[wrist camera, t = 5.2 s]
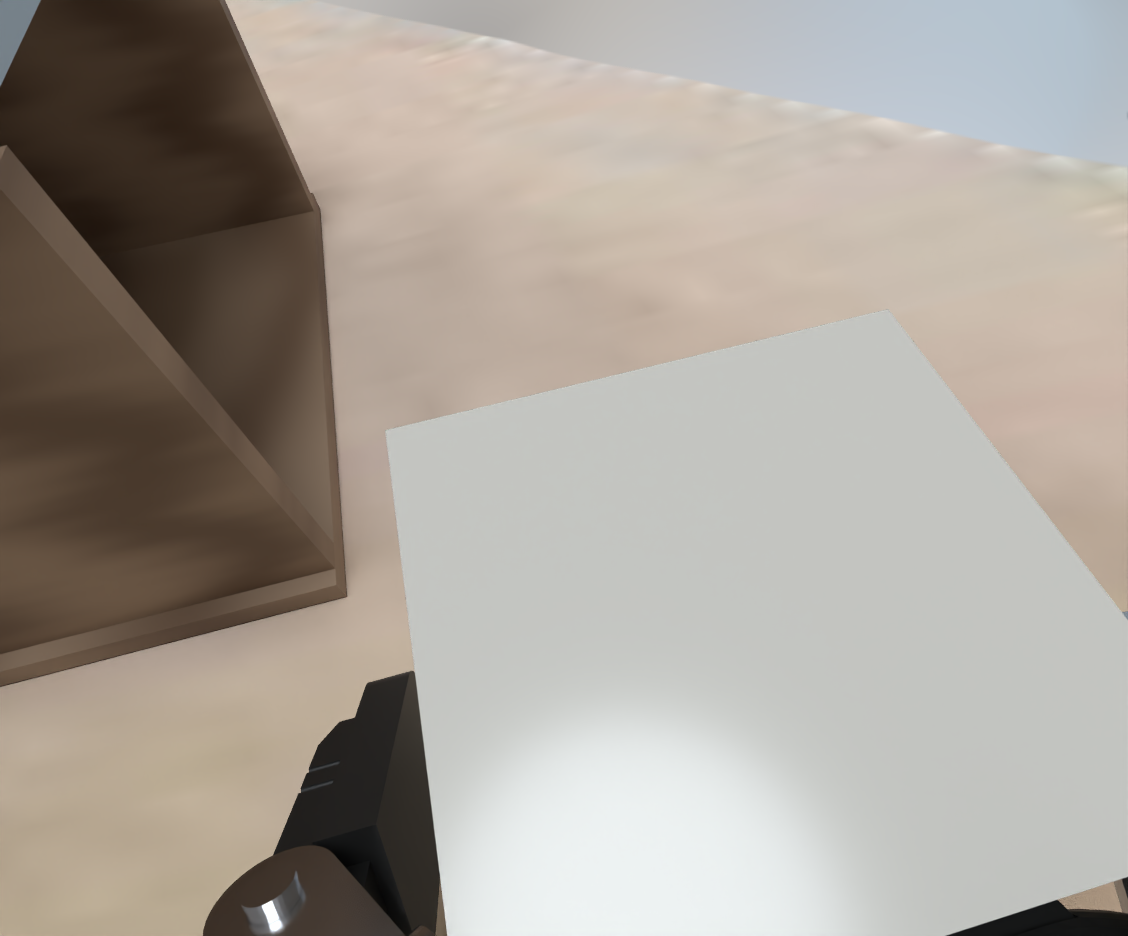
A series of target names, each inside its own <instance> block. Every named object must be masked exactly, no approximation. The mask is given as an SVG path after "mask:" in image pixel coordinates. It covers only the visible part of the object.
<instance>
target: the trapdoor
mask: <svg viewBox="0 0 1128 936" xmlns="http://www.w3.org/2000/svg"><path fill="white" fill-rule="evenodd" d="M40 1H41V0H0V86H1V84H2V82H3V80H4V77H5V75H6V73H7V71H8V69H9V67H10V65H11V63H12V60H13V58H14V56H15V54H16V52H17V50H18V48H19V46H20V43H21V41H22V39H23V37H24V35H25V33H26V31H27V29H28V26H29V24H30V22H31V20H32V18H33V16H34V14H35V11H36V9H37V7H38V5H39V3H40Z"/></svg>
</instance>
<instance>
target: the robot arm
mask: <svg viewBox="0 0 1128 936" xmlns="http://www.w3.org/2000/svg"><path fill="white" fill-rule="evenodd" d="M1122 613H1123V615H1124V616H1125V617H1126V619H1127V620H1128V612H1122ZM439 882H440V872H439V864H438V856H437V847H436V839H435V831H434V823H433V815H432V807H431V799H430V790H429V782H428V774H427V766H426V758H425V750H424V742H423V734H422V725H421V717H420V709H419V701H418V693H417V685H416V677H415V672H414V671H410V672H406V673H402V674H398V675H395V676H391V677H387V678H384V679H380V680H376V681H373V682H369V683H367V685H366V687H365V690H364V693H363V696H362V699H361V701H360V704H359V707H358V710H357V713H356V716H355V718H352V719H349V720H345V721H341V722H339V723H338V724H337V725H336V726H335V727H334V729H333V730H332V731H331V732H330V733H329V734H328V735H327V736H326V737H325V738H324V740H323V741H322V742H321V743H320V744H319V745H318V747H317V750H316V752H315V755H314V757H313V759H312V762H311V764H310V767H309V773H307V774H306V776H305V779H304V781H303V784H302V786H301V793H299V794H298V796H297V798H296V801H295V803H294V806H293V808H292V811H291V813H290V815H289V818H288V820H287V823H286V825H285V828H284V830H283V832H282V835H281V837H280V840H279V842H278V845H277V847H276V849H275V852H274V854H273V856H271V857H269V858H267V859H266V860H264V861H262V862H260V863H259V864H257V865H256V866H254V867H253V868H251V869H250V870H249V871H247V872H246V873H245V874H243V875H242V876H241V877H240V878H239V879H237V880H236V881H235V882H234V883H233V884H232V885H231V886H230V887H229V888H228V889H227V890H226V891H225V892H224V893H223V895H222V896H221V897H220V898H219V900H218V901H217V902H216V904H215V905H214V907H213V908H212V910H211V912H210V914H209V916H208V918H207V920H206V923H205V926H204V930H203V936H436V935H435V932H436V919H437V907H438V895H439ZM1113 882H1114V885H1115V889H1116V892H1117V895H1118V899H1119V902H1120V906H1121V909H1122V912H1123V913H1121V912H1114V911H1106V910H1088V909H1066V908H1065V907H1064V906H1063V905H1062V904H1061V903H1060V902H1059V901H1058V900H1055V901H1051V902H1048V903H1045V904H1042V905H1039V906H1036V907H1033V908H1030V909H1027V910H1024V911H1021V912H1017V913H1014V914H1011V915H1008V916H1005V917H1002V918H999V919H996V920H993V921H990V922H986V923H983V924H980V925H977V926H974V927H971V928H968V929H965V930H962V931H959V932H956V933H952V934H949V935H946V936H1128V877H1126V878H1123V879H1120V880H1116V881H1113Z"/></svg>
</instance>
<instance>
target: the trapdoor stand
mask: <svg viewBox="0 0 1128 936" xmlns="http://www.w3.org/2000/svg"><path fill="white" fill-rule="evenodd" d="M346 596H347V594H346V580H345V565H344V550H343V536H342V521H341V507H340V492H339V478H338V463H337V449H336V434H335V419H334V405H333V390H332V376H331V361H330V347H329V332H328V317H327V303H326V288H325V274H324V259H323V245H322V230H321V216H320V208H319V206H318V204H317V201H316V199H315V197H314V195H313V193H310V191H309V189H308V187H307V185H306V182H305V180H304V178H303V176H302V173H301V171H300V169H299V167H298V164H297V162H296V160H295V158H294V155H293V153H292V151H291V148H290V146H289V144H288V142H287V139H286V137H285V135H284V133H283V130H282V128H281V126H280V124H279V121H278V119H277V117H276V115H275V112H274V110H273V108H272V106H271V103H270V101H269V99H268V96H267V94H266V92H265V90H264V87H263V85H262V83H261V81H260V78H259V76H258V74H257V72H256V69H255V67H254V65H253V63H252V60H251V58H250V56H249V54H248V51H247V49H246V47H245V44H244V42H243V40H242V38H241V35H240V33H239V31H238V29H237V26H236V24H235V22H234V20H233V17H232V15H231V13H230V11H229V8H228V6H227V4H226V2H225V0H41V1H40V3H39V5H38V7H37V9H36V11H35V14H34V16H33V18H32V20H31V22H30V24H29V26H28V29H27V31H26V33H25V35H24V37H23V39H22V41H21V43H20V46H19V48H18V50H17V52H16V54H15V56H14V58H13V60H12V63H11V65H10V67H9V69H8V71H7V73H6V75H5V77H4V80H3V82H2V84H1V86H0V686H3V685H7V684H11V683H15V682H19V681H23V680H26V679H30V678H34V677H38V676H42V675H46V674H50V673H53V672H57V671H61V670H65V669H69V668H73V667H77V666H80V665H84V664H88V663H92V662H96V661H100V660H104V659H107V658H111V657H115V656H119V655H123V654H127V653H131V652H134V651H138V650H142V649H146V648H150V647H154V646H157V645H161V644H165V643H169V642H173V641H177V640H181V639H184V638H188V637H192V636H196V635H200V634H204V633H208V632H211V631H215V630H219V629H223V628H227V627H231V626H235V625H238V624H242V623H246V622H250V621H254V620H258V619H261V618H265V617H269V616H273V615H277V614H281V613H285V612H288V611H292V610H296V609H300V608H304V607H308V606H312V605H315V604H319V603H323V602H327V601H331V600H335V599H339V598H342V597H346Z"/></svg>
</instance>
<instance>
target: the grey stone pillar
mask: <svg viewBox="0 0 1128 936" xmlns="http://www.w3.org/2000/svg"><path fill="white" fill-rule="evenodd" d="M385 433H386V441H387V449H388V457H389V465H390V473H391V481H392V490H393V498H394V506H395V514H396V522H397V530H398V538H399V547H400V555H401V563H402V571H403V579H404V587H405V595H406V603H407V612H408V620H409V628H410V636H411V644H412V652H413V660H414V669H415V677H416V685H417V693H418V701H419V709H420V717H421V725H422V734H423V742H424V750H425V758H426V766H427V774H428V782H429V790H430V799H431V807H432V815H433V823H434V831H435V839H436V847H437V856H438V864H439V872H440V880H441V888H442V896H443V904H444V912H445V921H446V929H447V936H946V935H949V934H952V933H956V932H959V931H962V930H965V929H968V928H971V927H974V926H977V925H980V924H983V923H986V922H990V921H993V920H996V919H999V918H1002V917H1005V916H1008V915H1011V914H1014V913H1017V912H1021V911H1024V910H1027V909H1030V908H1033V907H1036V906H1039V905H1042V904H1045V903H1048V902H1051V901H1055V900H1058V899H1061V898H1064V897H1067V896H1070V895H1073V894H1076V893H1079V892H1082V891H1086V890H1089V889H1092V888H1095V887H1098V886H1101V885H1104V884H1107V883H1110V882H1113V881H1116V880H1120V879H1123V878H1126V877H1128V620H1127V619H1126V617H1125V616H1124V615H1123V613H1122V612H1121V611H1120V609H1119V608H1118V607H1117V606H1116V604H1115V603H1114V602H1113V600H1112V599H1111V598H1110V596H1109V595H1108V594H1107V593H1106V591H1105V590H1104V589H1103V587H1102V586H1101V585H1100V583H1099V582H1098V581H1097V580H1096V578H1095V577H1094V576H1093V574H1092V573H1091V572H1090V571H1089V569H1088V568H1087V567H1086V565H1085V564H1084V563H1083V561H1082V560H1081V559H1080V558H1079V556H1078V555H1077V554H1076V552H1075V551H1074V550H1073V548H1072V547H1071V546H1070V545H1069V543H1068V542H1067V541H1066V539H1065V538H1064V537H1063V535H1062V534H1061V533H1060V532H1059V530H1058V529H1057V528H1056V526H1055V525H1054V524H1053V522H1052V521H1051V520H1050V519H1049V517H1048V516H1047V515H1046V513H1045V512H1044V511H1043V509H1042V508H1041V507H1040V506H1039V504H1038V503H1037V502H1036V500H1035V499H1034V498H1033V496H1032V495H1031V494H1030V493H1029V491H1028V490H1027V489H1026V487H1025V486H1024V485H1023V483H1022V482H1021V481H1020V480H1019V478H1018V477H1017V476H1016V474H1015V473H1014V472H1013V470H1012V469H1011V468H1010V467H1009V465H1008V464H1007V463H1006V461H1005V460H1004V459H1003V457H1002V456H1001V455H1000V454H999V452H998V451H997V450H996V448H995V447H994V446H993V444H992V443H991V442H990V441H989V439H988V438H987V437H986V435H985V434H984V433H983V431H982V430H981V429H980V428H979V426H978V425H977V424H976V422H975V421H974V420H973V418H972V417H971V416H970V415H969V413H968V412H967V411H966V409H965V408H964V407H963V406H962V404H961V403H960V402H959V400H958V399H957V398H956V396H955V395H954V394H953V393H952V391H951V390H950V389H949V387H948V386H947V385H946V383H945V382H944V381H943V380H942V378H941V377H940V376H939V374H938V373H937V372H936V370H935V369H934V368H933V367H932V365H931V364H930V363H929V361H928V360H927V359H926V357H925V356H924V355H923V354H922V352H921V351H920V350H919V348H918V347H917V346H916V344H915V343H914V342H913V341H912V339H911V338H910V337H909V335H908V334H907V333H906V331H905V330H904V329H903V328H902V326H901V325H900V324H899V322H898V321H897V320H896V318H895V317H894V316H893V315H892V313H891V312H890V311H889V309H887V310H883V311H878V312H874V313H870V314H866V315H862V316H858V317H854V318H849V319H845V320H841V321H837V322H833V323H829V324H825V325H820V326H816V327H812V328H808V329H804V330H800V331H796V332H791V333H787V334H783V335H779V336H775V337H771V338H766V339H762V340H758V341H754V342H750V343H746V344H742V345H737V346H733V347H729V348H725V349H721V350H717V351H713V352H708V353H704V354H700V355H696V356H692V357H688V358H684V359H679V360H675V361H671V362H667V363H663V364H659V365H654V366H650V367H646V368H642V369H638V370H634V371H630V372H625V373H621V374H617V375H613V376H609V377H605V378H601V379H596V380H592V381H588V382H584V383H580V384H576V385H572V386H567V387H563V388H559V389H555V390H551V391H547V392H542V393H538V394H534V395H530V396H526V397H522V398H518V399H513V400H509V401H505V402H501V403H497V404H493V405H489V406H484V407H480V408H476V409H472V410H468V411H464V412H460V413H455V414H451V415H447V416H443V417H439V418H435V419H430V420H426V421H422V422H418V423H414V424H410V425H406V426H401V427H397V428H393V429H389V430H385Z"/></svg>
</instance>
